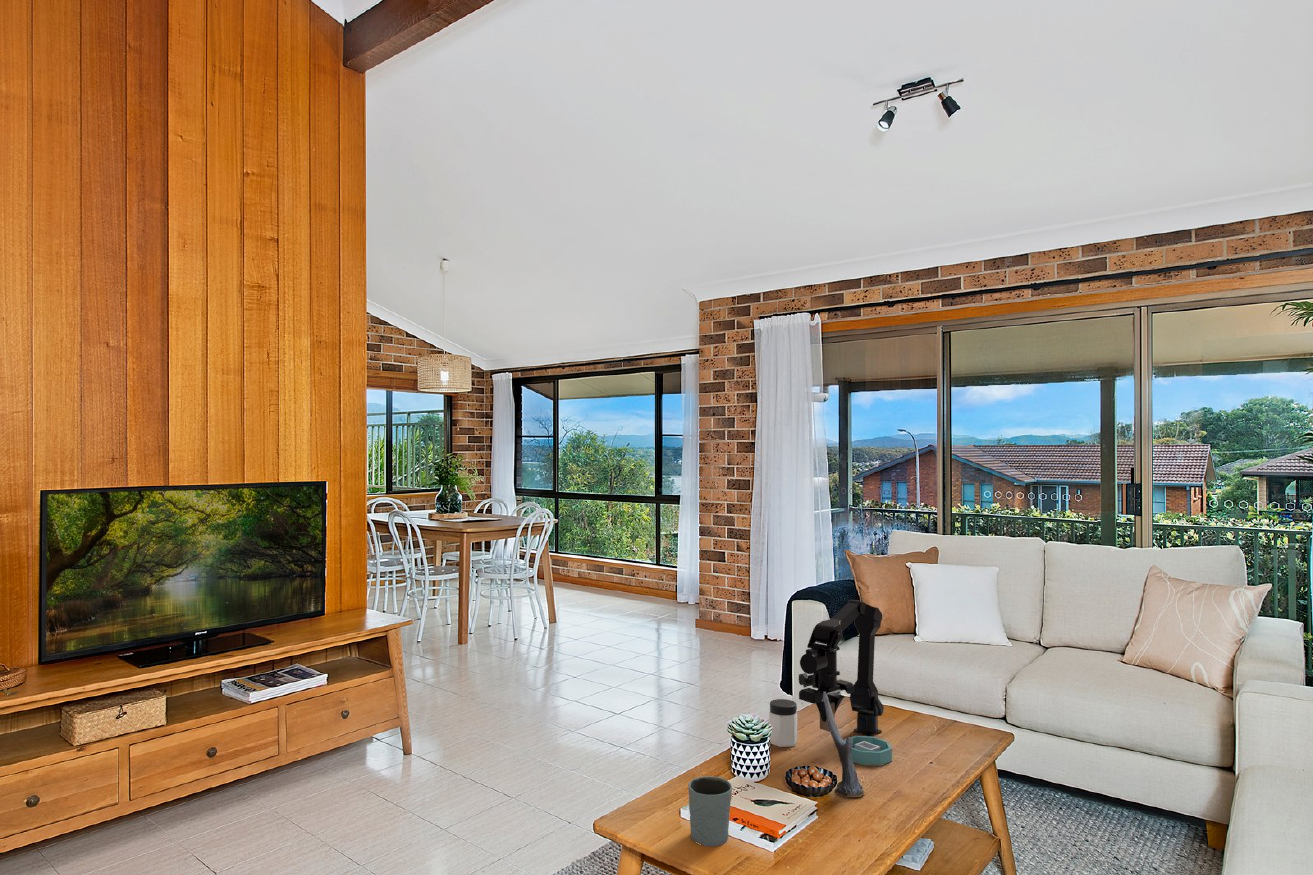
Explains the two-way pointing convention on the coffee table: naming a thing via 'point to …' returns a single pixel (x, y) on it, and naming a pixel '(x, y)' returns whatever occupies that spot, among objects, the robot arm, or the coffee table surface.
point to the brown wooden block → (825, 724)
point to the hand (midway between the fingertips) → (827, 720)
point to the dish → (870, 750)
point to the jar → (783, 722)
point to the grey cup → (709, 810)
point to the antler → (843, 758)
